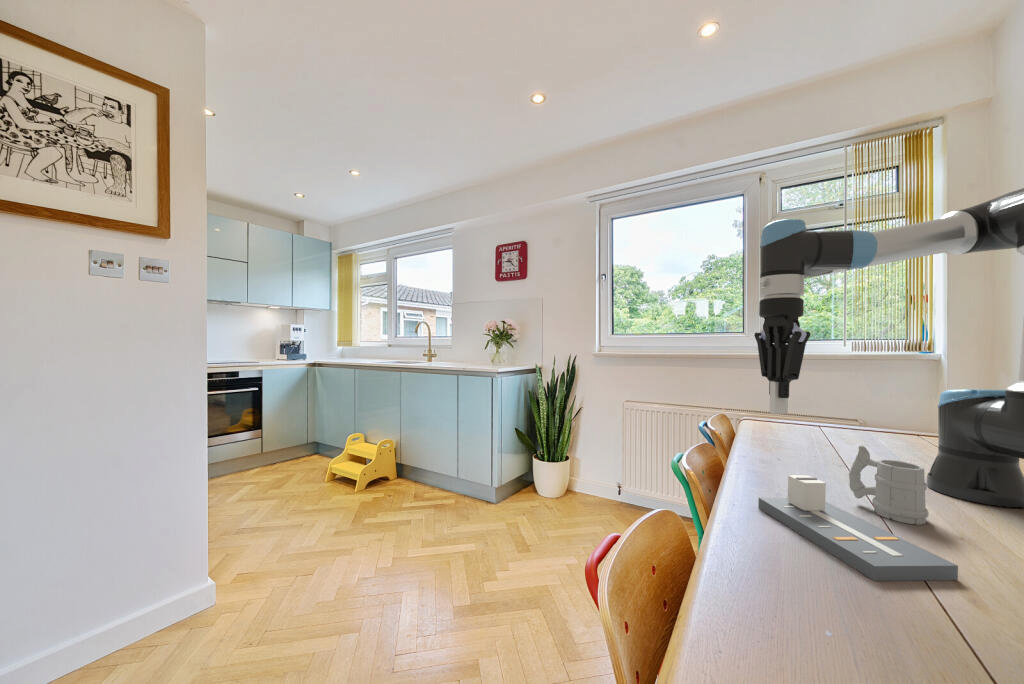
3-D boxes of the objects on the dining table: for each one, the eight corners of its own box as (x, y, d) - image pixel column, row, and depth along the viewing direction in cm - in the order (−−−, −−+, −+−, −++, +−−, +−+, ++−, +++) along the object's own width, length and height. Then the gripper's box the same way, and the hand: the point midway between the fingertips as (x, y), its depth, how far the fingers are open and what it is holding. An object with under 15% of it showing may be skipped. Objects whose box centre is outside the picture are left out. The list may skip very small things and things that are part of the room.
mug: (918, 529, 71) (920, 461, 71) (839, 504, 81) (840, 445, 81) (935, 520, 74) (937, 456, 74) (857, 498, 85) (858, 441, 85)
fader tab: (807, 501, 76) (808, 474, 76) (825, 510, 73) (825, 481, 72) (787, 501, 76) (788, 474, 76) (803, 510, 72) (804, 481, 72)
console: (817, 507, 79) (817, 497, 79) (957, 580, 55) (958, 564, 55) (758, 507, 79) (758, 496, 79) (874, 580, 55) (874, 565, 55)
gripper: (743, 300, 88) (740, 407, 88) (786, 293, 75) (783, 419, 75) (776, 301, 89) (773, 408, 89) (825, 294, 76) (822, 419, 76)
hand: (778, 413), depth 82 cm, fingers closed
